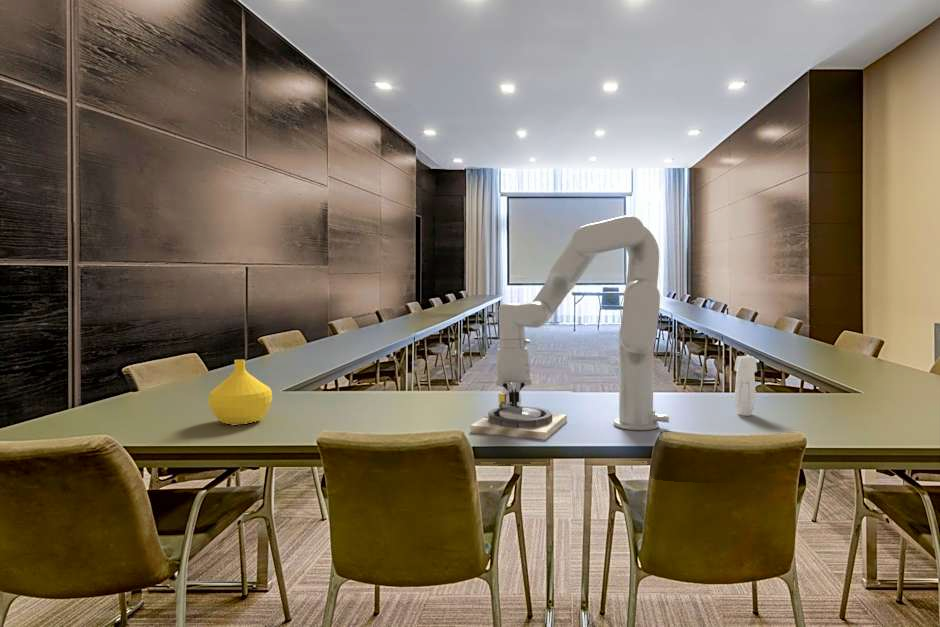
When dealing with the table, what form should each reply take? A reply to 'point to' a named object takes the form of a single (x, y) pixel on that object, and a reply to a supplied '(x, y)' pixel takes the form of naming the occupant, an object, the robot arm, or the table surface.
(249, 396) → the vase
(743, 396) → the flashlight
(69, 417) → the table surface
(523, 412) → the dial
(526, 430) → the dial plate
